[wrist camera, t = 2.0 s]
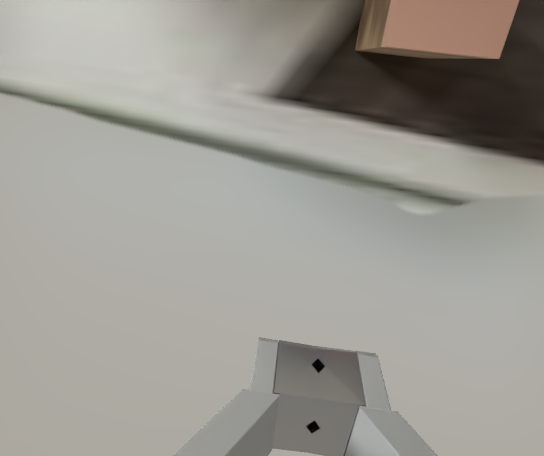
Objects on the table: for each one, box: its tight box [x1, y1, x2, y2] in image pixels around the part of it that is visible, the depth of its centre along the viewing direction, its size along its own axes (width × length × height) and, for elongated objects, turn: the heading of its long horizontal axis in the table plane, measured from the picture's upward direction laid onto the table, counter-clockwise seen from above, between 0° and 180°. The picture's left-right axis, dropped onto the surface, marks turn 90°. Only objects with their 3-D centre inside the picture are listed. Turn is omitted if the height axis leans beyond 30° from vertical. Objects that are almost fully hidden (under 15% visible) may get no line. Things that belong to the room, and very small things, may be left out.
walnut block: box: [355, 0, 519, 59], centre depth 24 cm, size 6×6×14 cm
